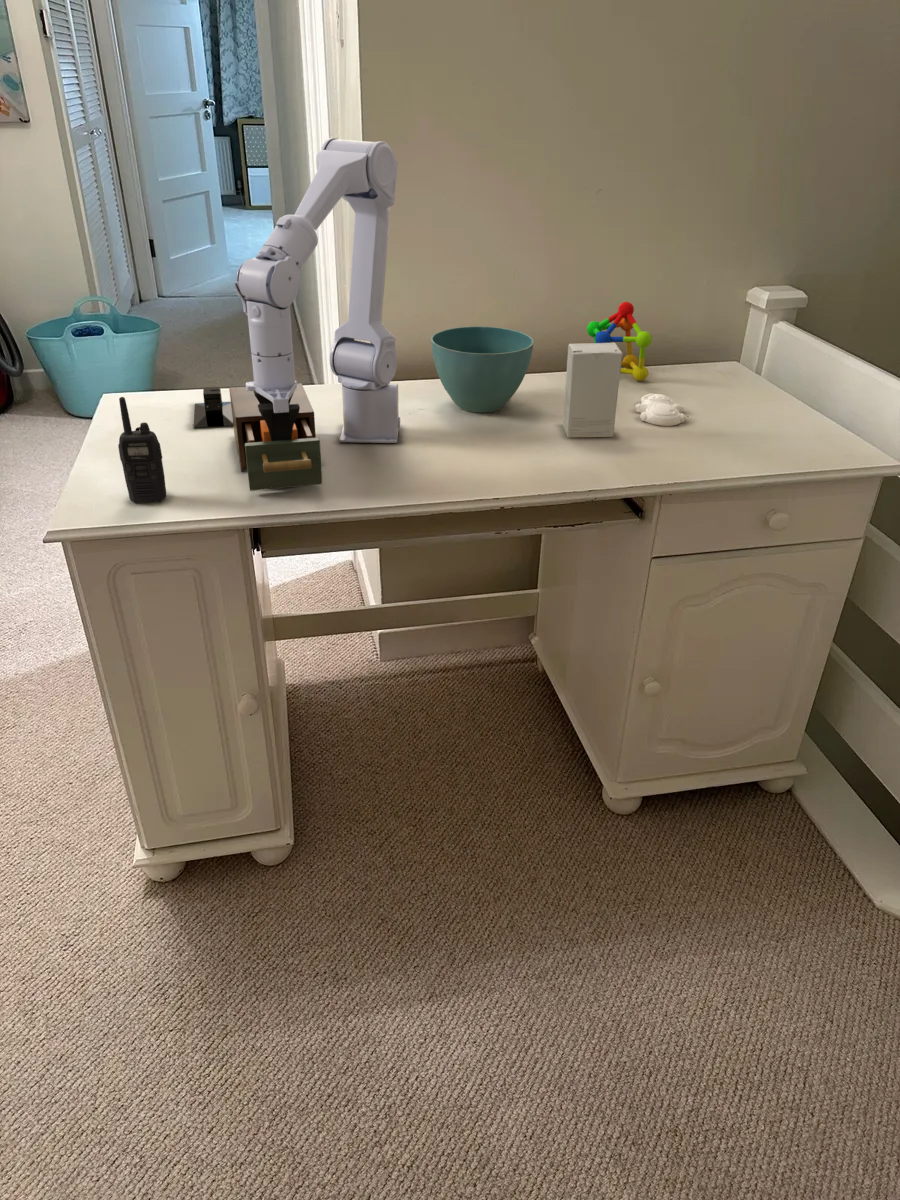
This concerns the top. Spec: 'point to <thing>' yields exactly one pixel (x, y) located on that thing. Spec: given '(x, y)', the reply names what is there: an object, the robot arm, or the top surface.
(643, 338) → the educational toy
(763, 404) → the top surface
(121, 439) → the two-way radio
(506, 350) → the plant pot
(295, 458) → the drawer
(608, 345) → the cosmetic box
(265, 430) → the block
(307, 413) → the cabinet
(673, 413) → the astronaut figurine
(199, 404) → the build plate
